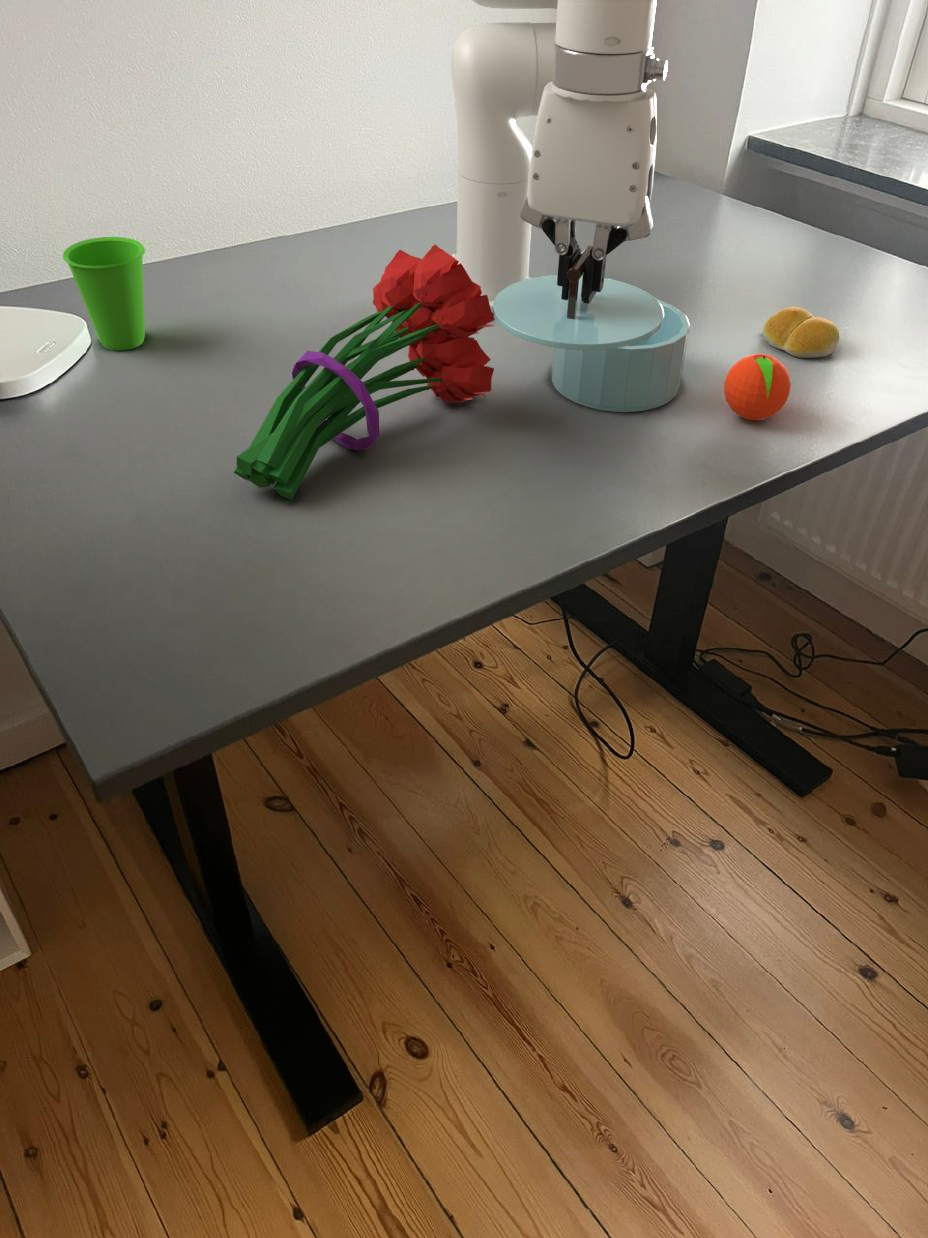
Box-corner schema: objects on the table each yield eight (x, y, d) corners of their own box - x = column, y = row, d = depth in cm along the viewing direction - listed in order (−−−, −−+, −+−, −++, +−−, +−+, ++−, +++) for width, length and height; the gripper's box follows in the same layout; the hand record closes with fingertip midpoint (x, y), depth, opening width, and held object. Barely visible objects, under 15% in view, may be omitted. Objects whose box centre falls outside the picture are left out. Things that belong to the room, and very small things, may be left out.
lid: (469, 339, 90) (470, 275, 86) (521, 276, 101) (524, 217, 97) (642, 369, 86) (652, 303, 82) (676, 300, 97) (685, 239, 93)
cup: (176, 341, 123) (160, 250, 115) (110, 365, 117) (89, 272, 110) (134, 319, 127) (116, 230, 120) (69, 341, 122) (46, 250, 115)
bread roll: (811, 366, 120) (820, 335, 118) (750, 340, 126) (757, 310, 123) (851, 347, 125) (859, 316, 122) (790, 323, 130) (797, 293, 127)
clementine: (791, 437, 108) (807, 376, 103) (726, 436, 108) (739, 375, 103) (775, 401, 114) (789, 342, 109) (713, 399, 114) (725, 340, 109)
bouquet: (225, 519, 105) (407, 363, 119) (340, 581, 98) (521, 407, 111) (159, 362, 90) (377, 203, 104) (290, 421, 82) (506, 242, 96)
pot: (536, 398, 113) (540, 335, 108) (570, 344, 124) (575, 284, 119) (665, 422, 110) (675, 358, 105) (688, 364, 120) (699, 303, 116)
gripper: (705, 70, 81) (671, 293, 93) (520, 52, 85) (510, 269, 97) (689, 91, 76) (655, 325, 87) (492, 71, 79) (485, 298, 91)
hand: (579, 294), depth 92 cm, fingers closed on lid, 1 cm apart
